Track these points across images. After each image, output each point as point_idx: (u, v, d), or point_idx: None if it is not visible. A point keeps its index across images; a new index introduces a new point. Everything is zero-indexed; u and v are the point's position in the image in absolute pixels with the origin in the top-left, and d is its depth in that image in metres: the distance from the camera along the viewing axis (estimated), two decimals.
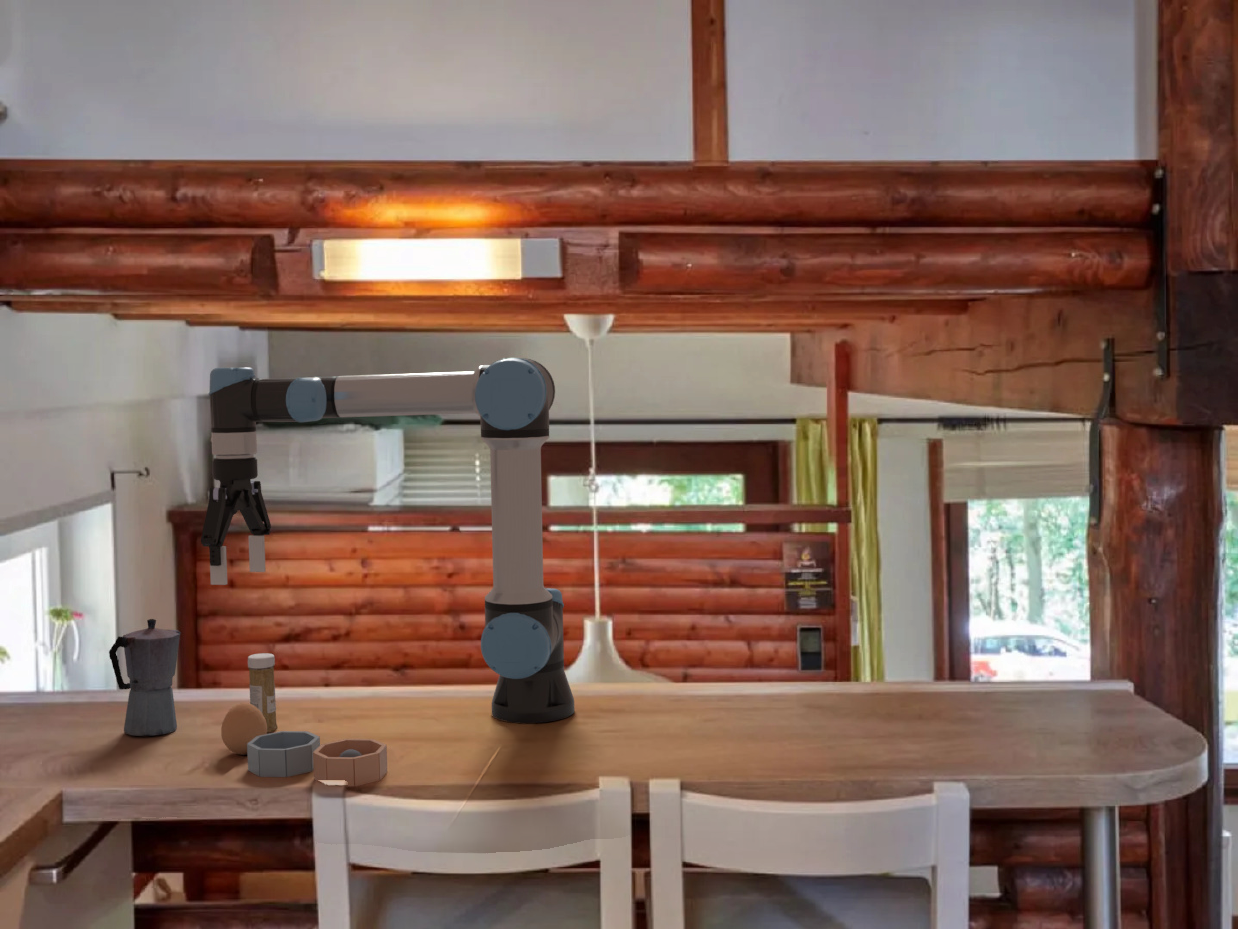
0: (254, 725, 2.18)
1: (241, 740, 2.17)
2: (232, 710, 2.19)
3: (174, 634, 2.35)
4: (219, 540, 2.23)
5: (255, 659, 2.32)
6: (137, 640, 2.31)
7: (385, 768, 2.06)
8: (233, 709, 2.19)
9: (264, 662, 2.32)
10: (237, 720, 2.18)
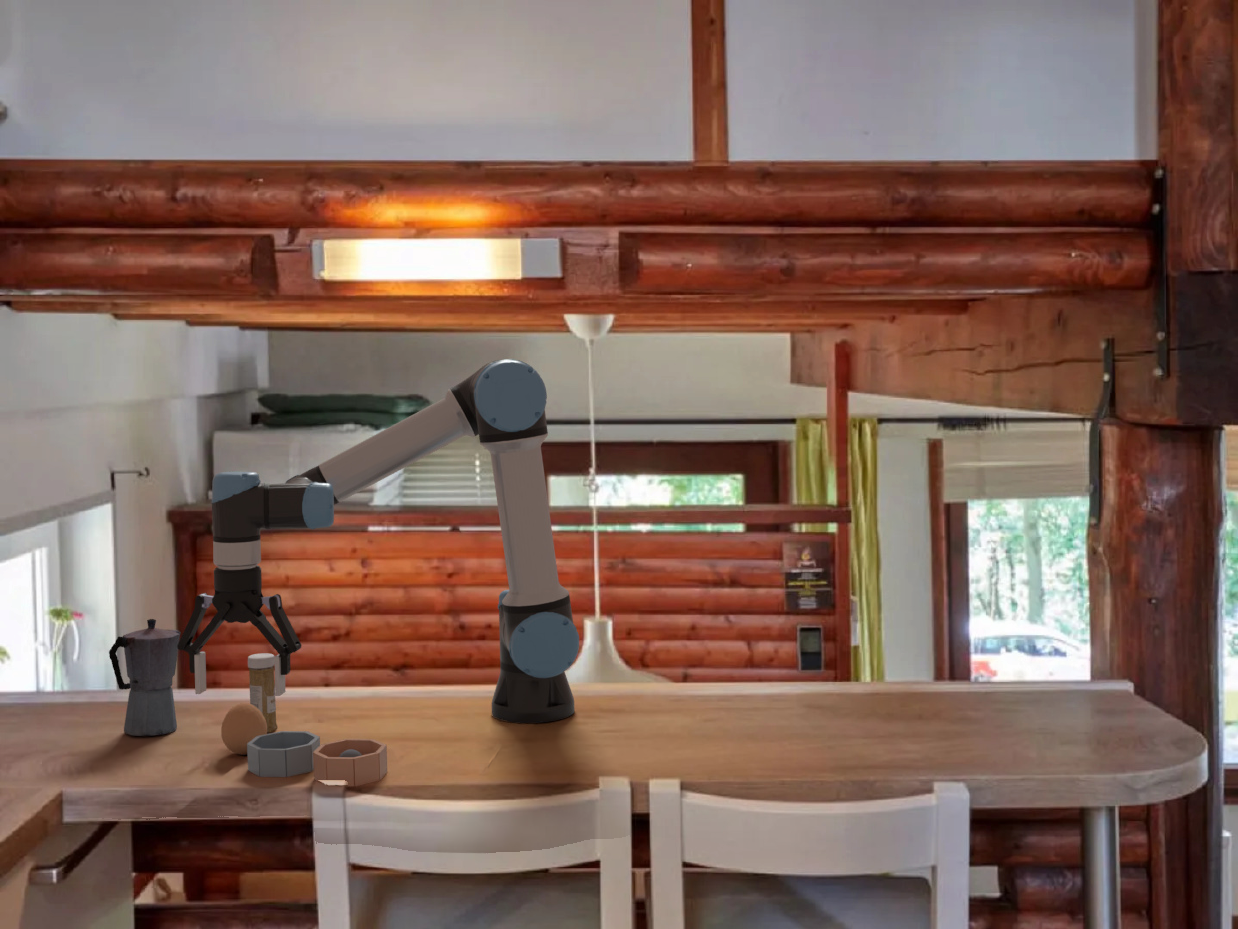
0: (254, 725, 2.18)
1: (241, 740, 2.17)
2: (232, 710, 2.19)
3: (174, 634, 2.35)
4: (189, 647, 2.19)
5: (255, 659, 2.32)
6: (137, 640, 2.31)
7: (385, 768, 2.06)
8: (233, 709, 2.19)
9: (264, 662, 2.32)
10: (237, 720, 2.18)
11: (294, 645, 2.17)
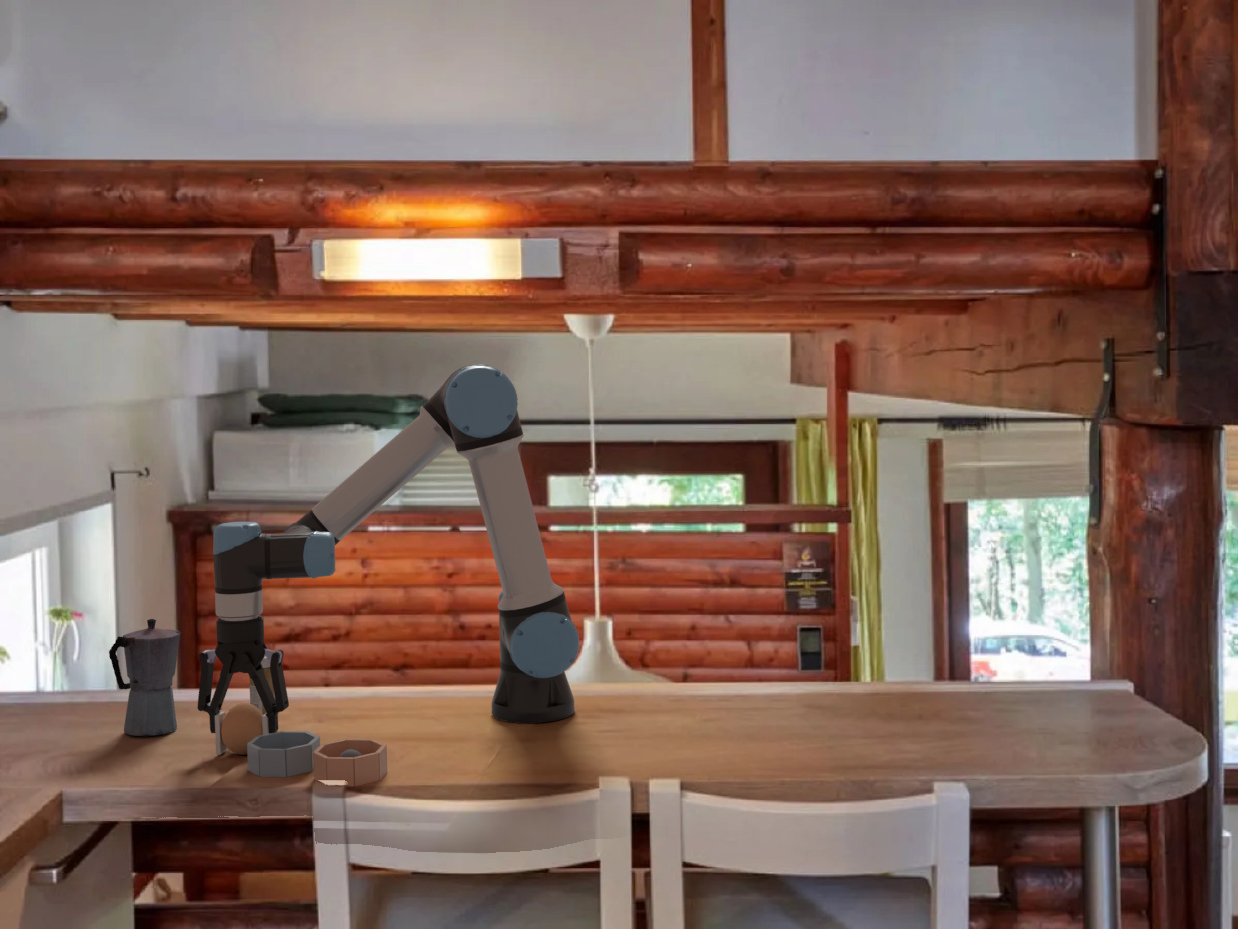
0: (254, 725, 2.18)
1: (241, 740, 2.17)
2: (232, 710, 2.19)
3: (174, 634, 2.35)
4: (209, 709, 2.20)
5: None
6: (137, 640, 2.31)
7: (385, 768, 2.06)
8: (233, 709, 2.19)
9: (264, 662, 2.32)
10: (237, 720, 2.18)
11: (282, 705, 2.19)
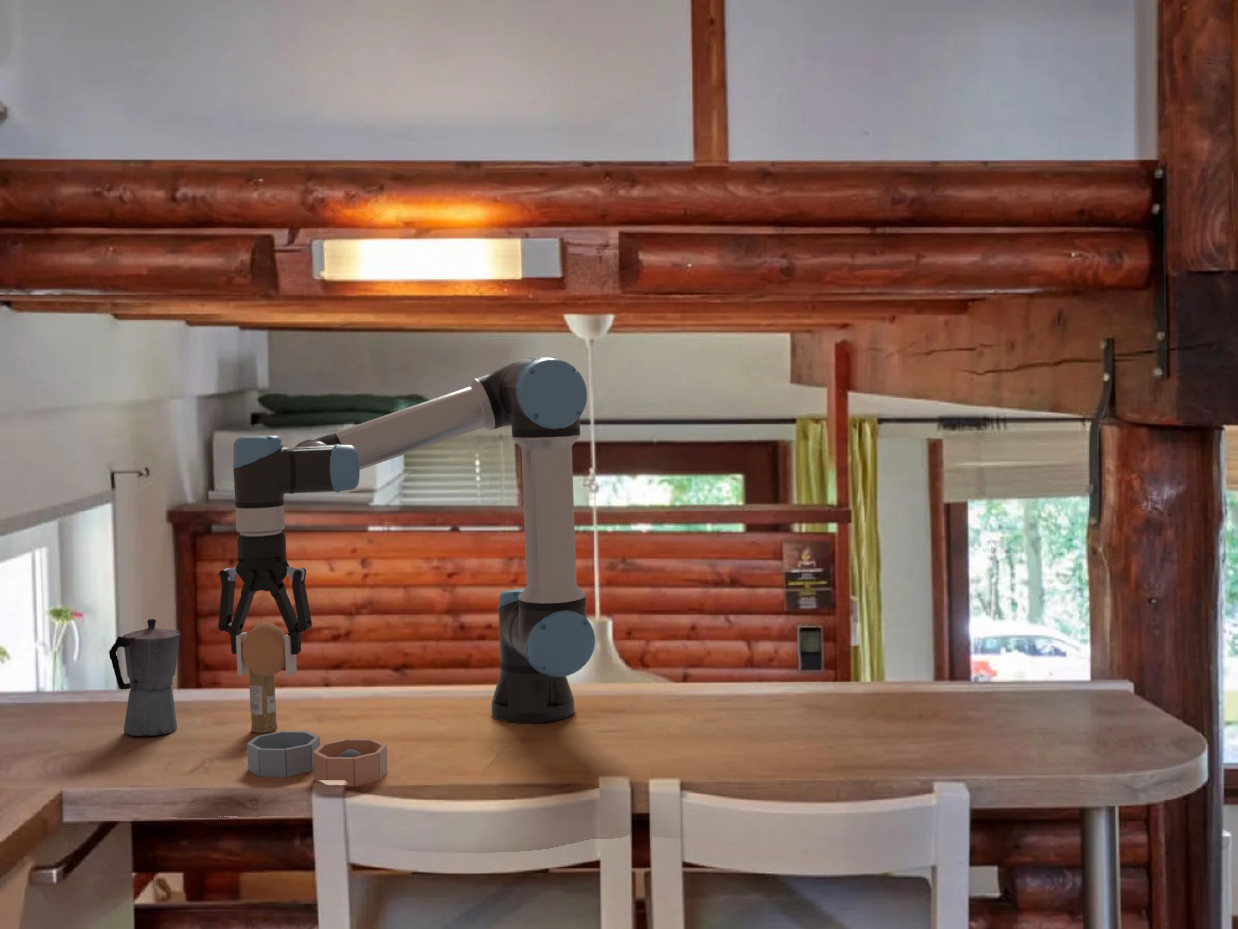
0: (276, 645, 2.11)
1: (263, 659, 2.10)
2: (253, 630, 2.12)
3: (174, 634, 2.35)
4: (230, 628, 2.13)
5: None
6: (137, 640, 2.31)
7: (385, 768, 2.06)
8: (254, 629, 2.12)
9: None
10: (258, 640, 2.10)
11: (305, 624, 2.11)
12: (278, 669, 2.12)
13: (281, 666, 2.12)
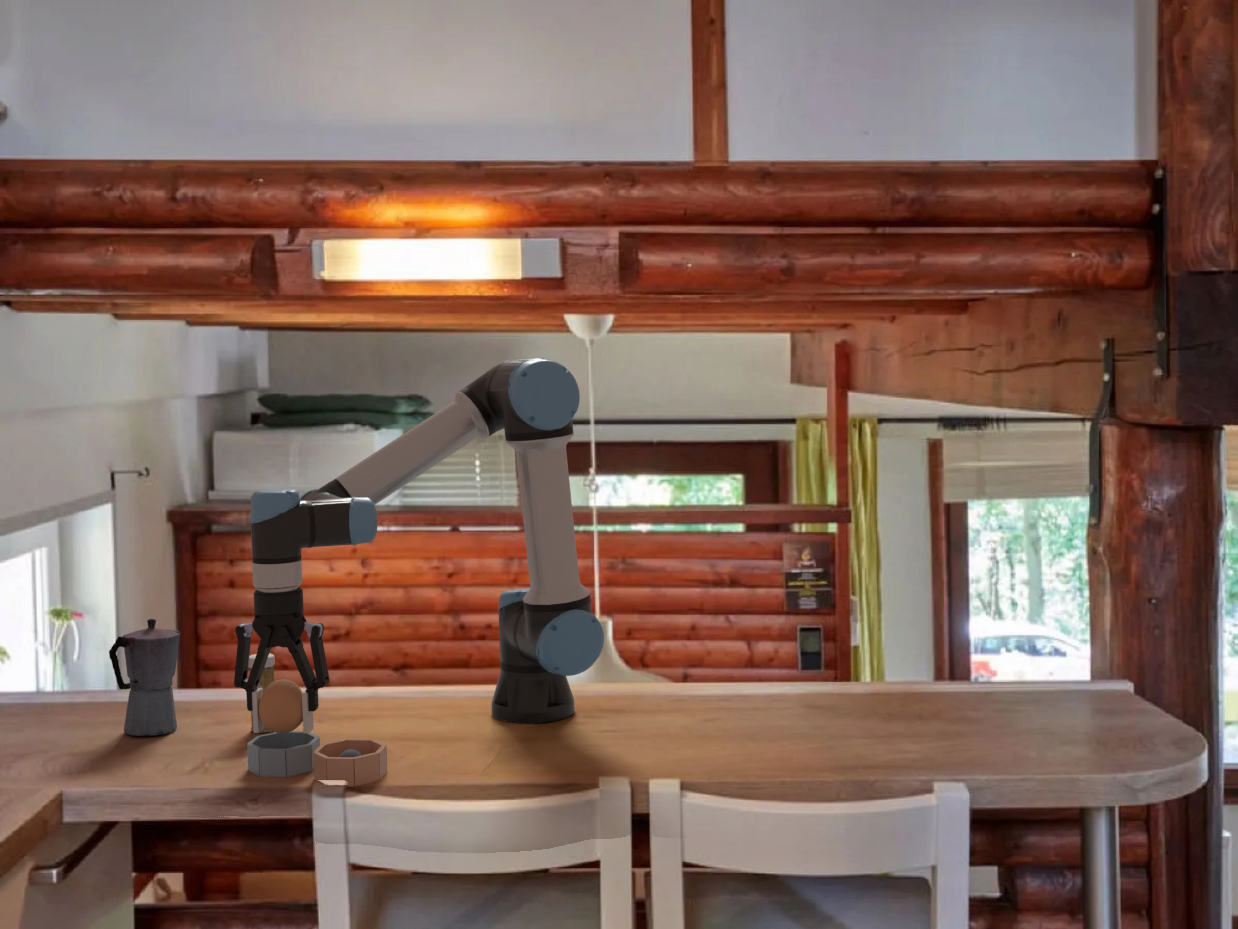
0: (294, 702, 2.08)
1: (280, 717, 2.07)
2: (270, 686, 2.09)
3: (174, 634, 2.35)
4: (246, 685, 2.09)
5: None
6: (137, 640, 2.31)
7: (385, 768, 2.06)
8: (271, 685, 2.09)
9: None
10: (276, 697, 2.07)
11: (323, 681, 2.08)
12: (295, 726, 2.09)
13: (299, 723, 2.09)
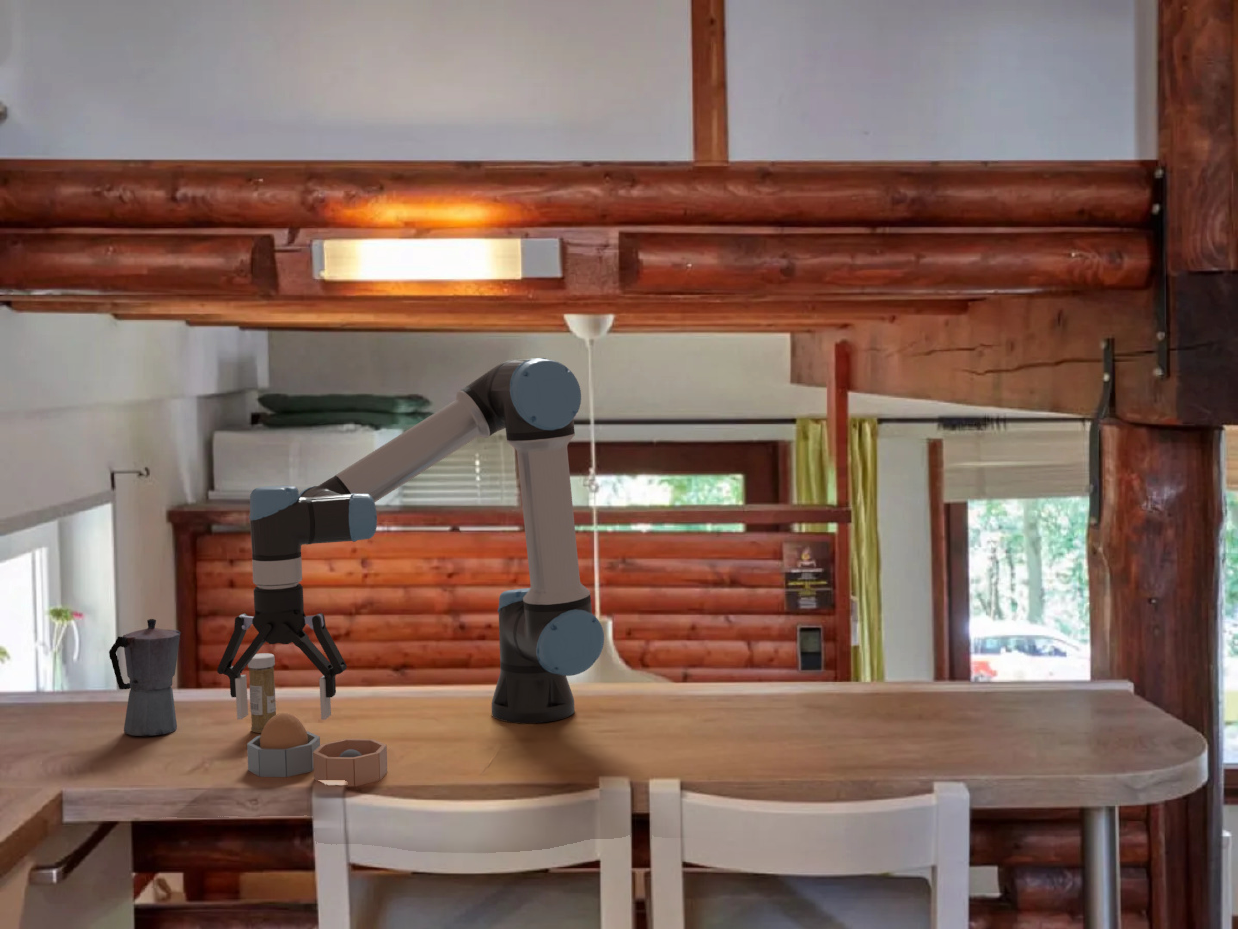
0: (295, 737, 2.08)
1: None
2: (271, 721, 2.09)
3: (174, 634, 2.35)
4: (230, 671, 2.10)
5: (255, 659, 2.32)
6: (137, 640, 2.31)
7: (385, 768, 2.06)
8: (272, 719, 2.09)
9: (264, 662, 2.32)
10: (277, 731, 2.08)
11: (339, 666, 2.08)
12: None
13: None
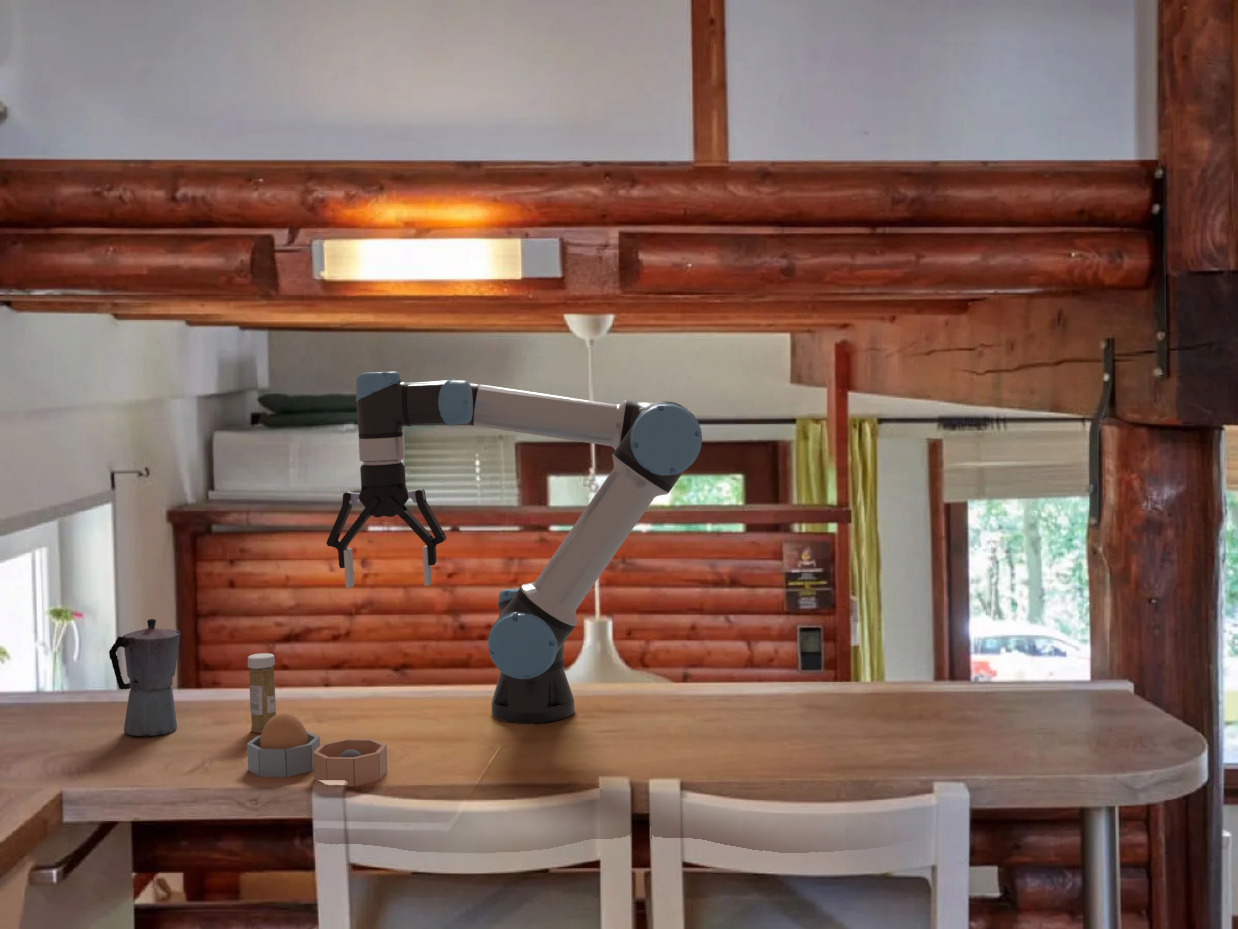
0: (295, 737, 2.08)
1: None
2: (271, 720, 2.09)
3: (174, 634, 2.35)
4: (338, 543, 2.27)
5: (255, 659, 2.32)
6: (137, 640, 2.31)
7: (385, 768, 2.06)
8: (272, 719, 2.09)
9: (264, 662, 2.32)
10: (277, 731, 2.08)
11: (441, 536, 2.26)
12: None
13: None
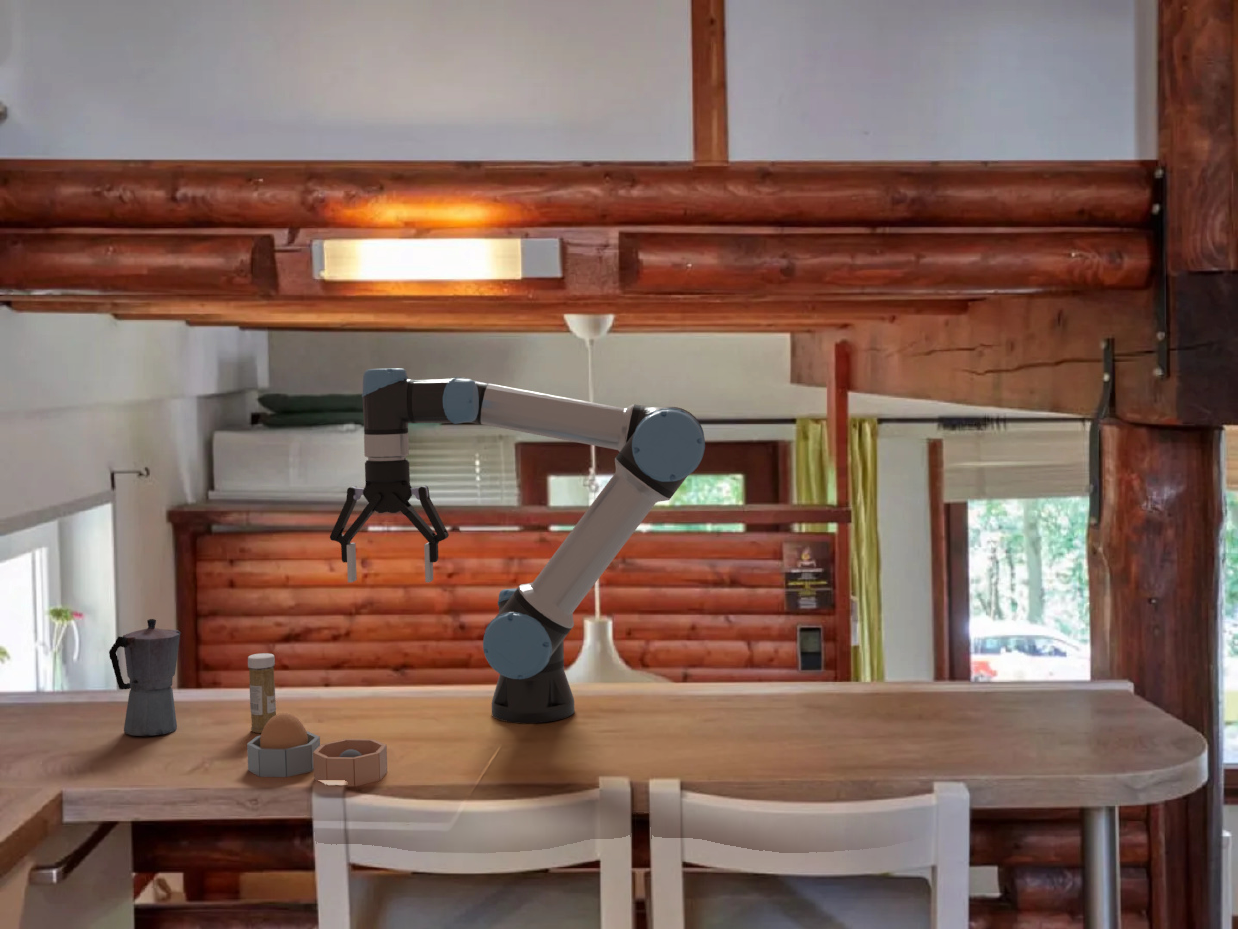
0: (295, 737, 2.08)
1: None
2: (271, 720, 2.09)
3: (174, 634, 2.35)
4: (341, 537, 2.29)
5: (255, 659, 2.32)
6: (137, 640, 2.31)
7: (385, 768, 2.06)
8: (272, 719, 2.09)
9: (264, 662, 2.32)
10: (277, 731, 2.08)
11: (443, 533, 2.27)
12: None
13: None
